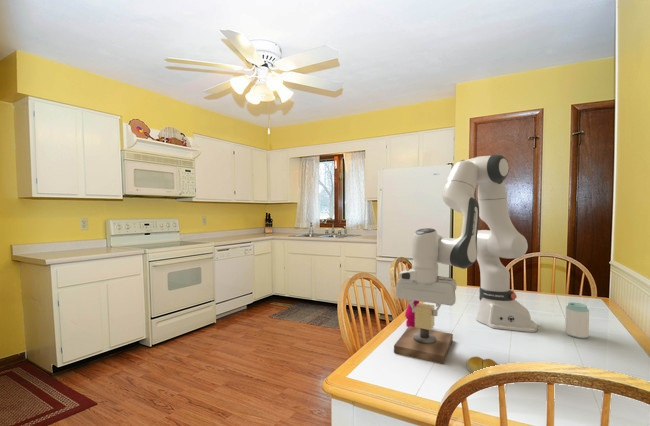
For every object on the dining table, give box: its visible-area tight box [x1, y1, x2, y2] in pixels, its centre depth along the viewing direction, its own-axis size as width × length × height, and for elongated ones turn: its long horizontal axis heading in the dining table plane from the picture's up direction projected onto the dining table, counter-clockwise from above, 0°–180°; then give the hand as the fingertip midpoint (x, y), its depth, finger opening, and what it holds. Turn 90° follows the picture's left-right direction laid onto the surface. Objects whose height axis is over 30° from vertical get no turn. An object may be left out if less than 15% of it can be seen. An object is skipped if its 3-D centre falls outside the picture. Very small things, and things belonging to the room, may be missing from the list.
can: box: [564, 301, 590, 340], centre depth 124 cm, size 7×7×12 cm
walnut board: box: [393, 326, 454, 365], centre depth 114 cm, size 16×20×10 cm
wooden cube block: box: [415, 302, 435, 330], centre depth 114 cm, size 6×6×7 cm
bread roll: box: [466, 356, 499, 374], centre depth 97 cm, size 8×9×4 cm
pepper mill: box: [404, 301, 420, 328], centre depth 134 cm, size 7×7×20 cm
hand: (424, 313), depth 114 cm, fingers closed on wooden cube block, 6 cm apart
